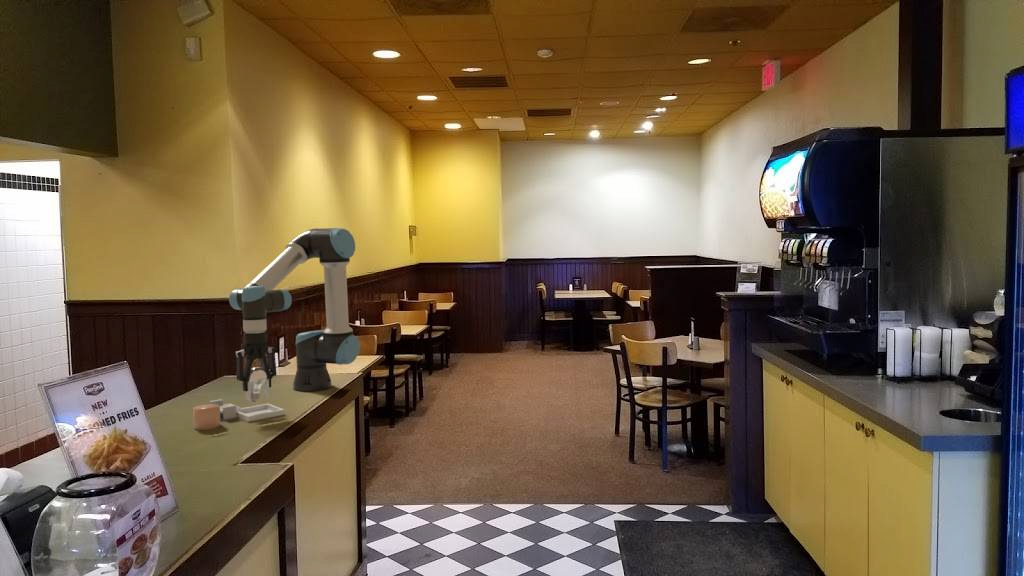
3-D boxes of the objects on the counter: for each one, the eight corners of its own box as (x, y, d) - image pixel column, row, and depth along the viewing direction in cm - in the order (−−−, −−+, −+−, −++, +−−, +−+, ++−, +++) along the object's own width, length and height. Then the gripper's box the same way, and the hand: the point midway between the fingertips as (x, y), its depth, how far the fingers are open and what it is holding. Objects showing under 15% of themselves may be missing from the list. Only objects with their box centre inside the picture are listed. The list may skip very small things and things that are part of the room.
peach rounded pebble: (215, 423, 235) (214, 403, 235) (224, 428, 229) (223, 407, 229) (190, 428, 230) (189, 407, 229) (199, 433, 224) (198, 411, 223)
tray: (268, 410, 252) (268, 403, 252) (285, 416, 243) (284, 409, 243) (232, 417, 244) (231, 409, 243) (248, 424, 234) (247, 416, 234)
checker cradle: (229, 411, 251) (228, 397, 251) (245, 418, 241) (245, 404, 241) (200, 416, 245) (199, 402, 244) (216, 424, 234) (215, 409, 234)
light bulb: (257, 405, 239) (261, 370, 238) (238, 401, 240) (243, 366, 239) (268, 401, 245) (272, 367, 245) (250, 397, 247) (254, 363, 246)
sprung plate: (230, 406, 249) (230, 403, 249) (241, 410, 243) (241, 407, 242) (204, 410, 243) (204, 407, 243) (214, 415, 236) (214, 412, 236)
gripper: (276, 328, 250) (278, 392, 252) (223, 333, 237) (226, 401, 239) (286, 329, 245) (288, 396, 246) (232, 335, 232) (235, 405, 234)
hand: (257, 398), depth 243 cm, fingers closed on light bulb, 6 cm apart
